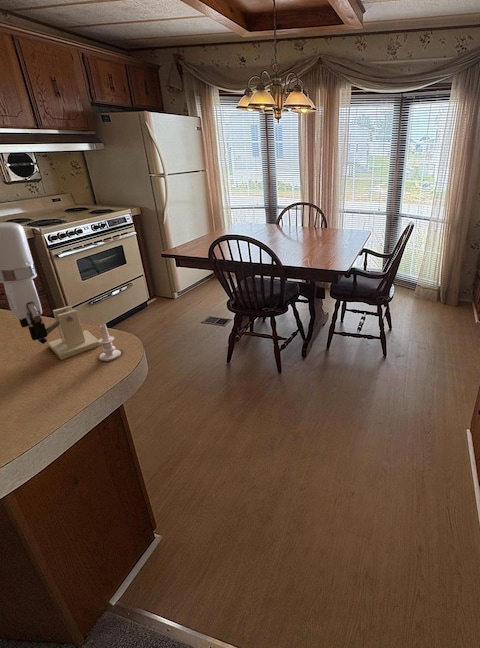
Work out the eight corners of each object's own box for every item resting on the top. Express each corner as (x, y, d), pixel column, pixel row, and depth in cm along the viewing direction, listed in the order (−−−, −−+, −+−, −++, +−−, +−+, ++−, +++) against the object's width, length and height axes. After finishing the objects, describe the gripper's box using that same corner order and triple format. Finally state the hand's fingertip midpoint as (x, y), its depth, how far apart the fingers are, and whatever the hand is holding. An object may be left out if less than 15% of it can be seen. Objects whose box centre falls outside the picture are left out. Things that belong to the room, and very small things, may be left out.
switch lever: (44, 345, 92) (37, 340, 91) (38, 337, 96) (30, 332, 94) (77, 318, 97) (71, 313, 95) (70, 311, 100) (63, 306, 99)
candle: (105, 363, 94) (97, 330, 90) (95, 357, 96) (87, 324, 92) (124, 354, 98) (117, 322, 94) (114, 348, 100) (106, 317, 96)
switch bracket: (61, 359, 94) (49, 322, 90) (49, 346, 100) (37, 310, 96) (100, 345, 102) (91, 309, 97) (87, 334, 107) (78, 300, 103)
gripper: (-12, 267, 88) (8, 325, 95) (5, 285, 78) (26, 349, 85) (25, 261, 93) (41, 316, 100) (45, 278, 84) (62, 338, 90)
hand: (34, 331), depth 92 cm, fingers open, 9 cm apart
